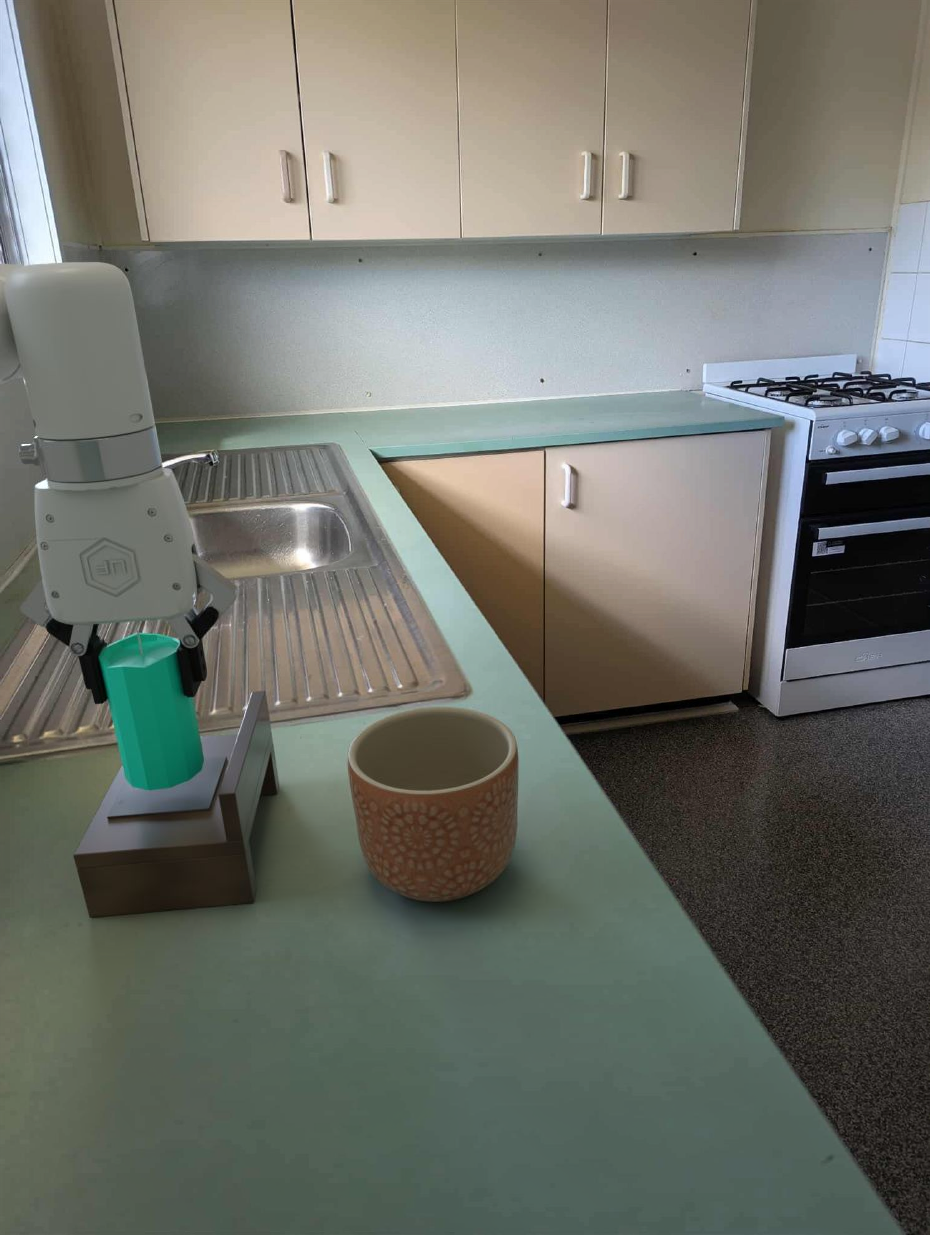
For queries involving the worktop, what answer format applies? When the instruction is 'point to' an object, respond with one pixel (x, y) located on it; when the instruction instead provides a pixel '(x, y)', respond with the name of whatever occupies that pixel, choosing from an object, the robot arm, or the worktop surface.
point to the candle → (151, 711)
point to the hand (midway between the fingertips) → (149, 690)
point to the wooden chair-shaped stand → (182, 830)
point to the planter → (435, 800)
